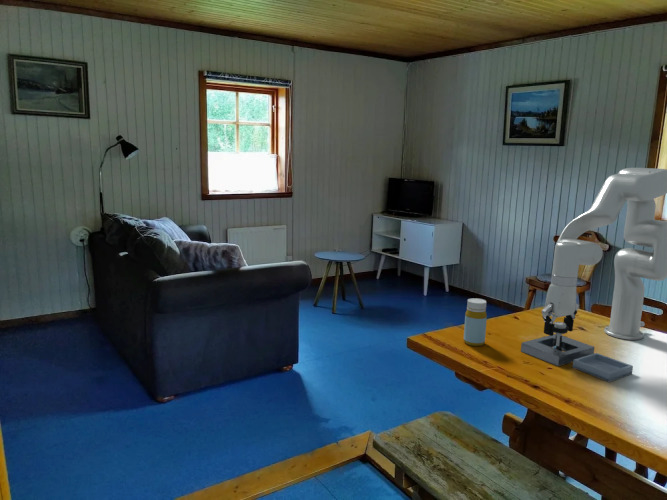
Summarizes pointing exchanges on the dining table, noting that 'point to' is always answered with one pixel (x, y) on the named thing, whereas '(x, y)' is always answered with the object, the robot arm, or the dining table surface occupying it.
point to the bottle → (475, 322)
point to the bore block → (556, 357)
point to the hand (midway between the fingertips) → (558, 332)
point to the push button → (559, 334)
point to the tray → (602, 367)
